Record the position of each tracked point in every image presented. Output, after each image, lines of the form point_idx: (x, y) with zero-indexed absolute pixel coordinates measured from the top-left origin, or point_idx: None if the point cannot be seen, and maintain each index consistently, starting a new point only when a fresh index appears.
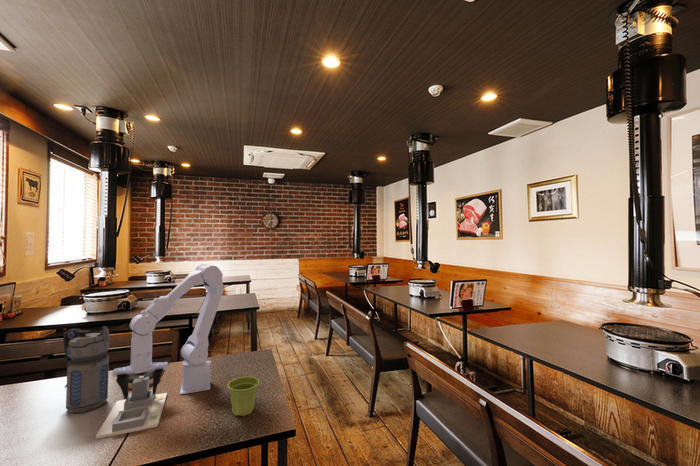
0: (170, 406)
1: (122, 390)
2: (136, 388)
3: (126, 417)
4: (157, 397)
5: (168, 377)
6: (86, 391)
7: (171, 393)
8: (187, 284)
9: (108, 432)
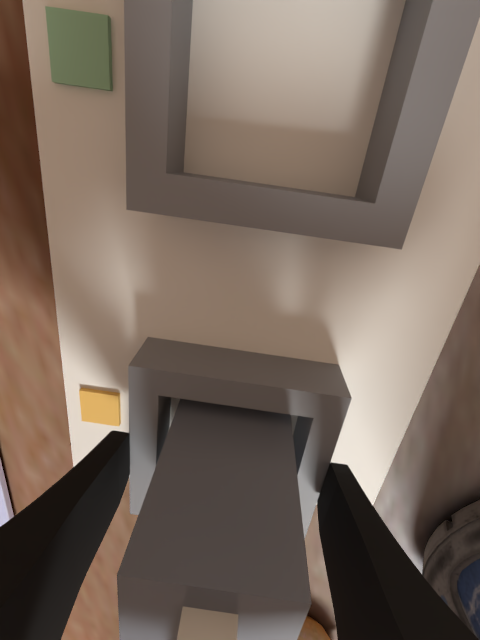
0: (14, 276)
1: (395, 545)
2: (253, 517)
3: (326, 193)
4: None
5: (117, 625)
6: None
7: (58, 462)
8: None
9: None
